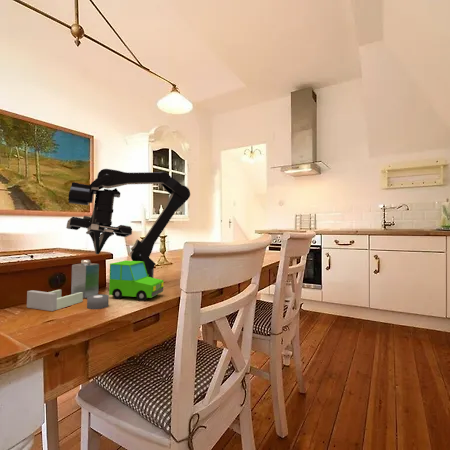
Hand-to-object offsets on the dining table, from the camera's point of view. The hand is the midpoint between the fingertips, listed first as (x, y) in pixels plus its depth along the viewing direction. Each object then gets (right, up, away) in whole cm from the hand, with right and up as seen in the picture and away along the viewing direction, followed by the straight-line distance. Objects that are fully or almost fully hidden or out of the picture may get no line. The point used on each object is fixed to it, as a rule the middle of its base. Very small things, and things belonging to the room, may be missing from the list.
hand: (97, 254), depth 87 cm
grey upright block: (-1, -12, -6) cm, 13 cm away
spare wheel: (+8, -12, -16) cm, 21 cm away
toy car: (+15, -12, -6) cm, 20 cm away
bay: (-3, -11, -15) cm, 19 cm away
